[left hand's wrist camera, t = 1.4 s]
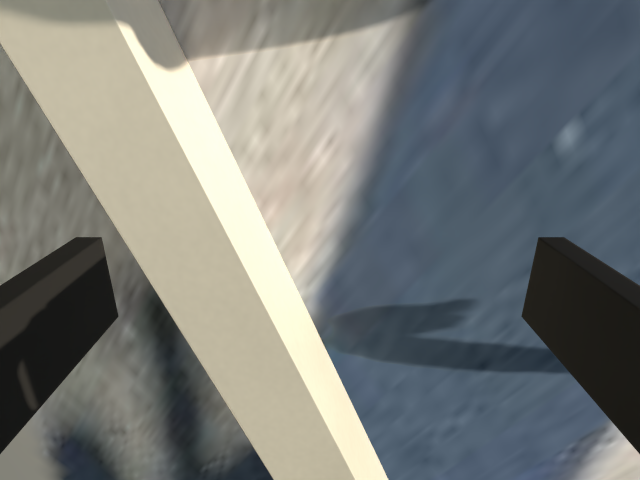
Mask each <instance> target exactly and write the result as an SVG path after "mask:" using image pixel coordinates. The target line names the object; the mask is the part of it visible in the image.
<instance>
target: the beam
mask: <svg viewBox="0 0 640 480" xmlns="http://www.w3.org/2000/svg"><path fill="white" fill-rule="evenodd" d="M0 44H1V45H2V47H3V49H4V50H5V52H6V53H7V55H8V57H9V58H10V60H11V61H12V63H13V65H14V66H15V68H16V69H17V71H18V73H19V74H20V76H21V77H22V79H23V81H24V82H25V84H26V85H27V87H28V89H29V90H30V92H31V93H32V95H33V96H34V98H35V100H36V101H37V103H38V104H39V106H40V108H41V109H42V111H43V112H44V114H45V116H46V117H47V119H48V120H49V122H50V124H51V125H52V127H53V128H54V130H55V132H56V133H57V135H58V136H59V138H60V140H61V141H62V143H63V144H64V146H65V148H66V149H67V151H68V152H69V154H70V156H71V157H72V159H73V160H74V162H75V163H76V165H77V167H78V168H79V170H80V171H81V173H82V175H83V176H84V178H85V179H86V181H87V183H88V184H89V186H90V187H91V189H92V191H93V192H94V194H95V195H96V197H97V199H98V200H99V202H100V203H101V205H102V207H103V208H104V210H105V211H106V213H107V215H108V216H109V218H110V219H111V221H112V222H113V224H114V226H115V227H116V229H117V230H118V232H119V234H120V235H121V237H122V238H123V240H124V242H125V243H126V245H127V246H128V248H129V250H130V251H131V253H132V254H133V256H134V258H135V259H136V261H137V262H138V264H139V266H140V267H141V269H142V270H143V272H144V274H145V275H146V277H147V278H148V280H149V282H150V283H151V285H152V286H153V288H154V289H155V291H156V293H157V294H158V296H159V297H160V299H161V301H162V302H163V304H164V305H165V307H166V309H167V310H168V312H169V313H170V315H171V317H172V318H173V320H174V321H175V323H176V325H177V326H178V328H179V329H180V331H181V333H182V334H183V336H184V337H185V339H186V341H187V342H188V344H189V345H190V347H191V348H192V350H193V352H194V353H195V355H196V356H197V358H198V360H199V361H200V363H201V364H202V366H203V368H204V369H205V371H206V372H207V374H208V376H209V377H210V379H211V380H212V382H213V384H214V385H215V387H216V388H217V390H218V392H219V393H220V395H221V396H222V398H223V400H224V401H225V403H226V404H227V406H228V408H229V409H230V411H231V412H232V414H233V415H234V417H235V419H236V420H237V422H238V423H239V425H240V427H241V428H242V430H243V431H244V433H245V435H246V436H247V438H248V439H249V441H250V443H251V444H252V446H253V447H254V449H255V451H256V452H257V454H258V455H259V457H260V459H261V460H262V462H263V463H264V465H265V467H266V468H267V470H268V471H269V473H270V474H271V476H272V478H273V479H274V480H388V478H387V476H386V474H385V472H384V470H383V468H382V466H381V464H380V461H379V459H378V457H377V455H376V453H375V451H374V449H373V447H372V445H371V443H370V441H369V439H368V436H367V434H366V432H365V430H364V428H363V426H362V424H361V422H360V420H359V418H358V416H357V414H356V411H355V409H354V407H353V405H352V403H351V401H350V399H349V397H348V395H347V393H346V391H345V389H344V386H343V384H342V382H341V380H340V378H339V376H338V374H337V372H336V370H335V368H334V366H333V364H332V361H331V359H330V357H329V355H328V353H327V351H326V349H325V347H324V345H323V343H322V341H321V339H320V336H319V334H318V332H317V330H316V328H315V326H314V324H313V322H312V320H311V318H310V316H309V314H308V311H307V309H306V307H305V305H304V303H303V301H302V299H301V297H300V295H299V293H298V291H297V289H296V286H295V284H294V282H293V280H292V278H291V276H290V274H289V272H288V270H287V268H286V266H285V264H284V261H283V259H282V257H281V255H280V253H279V251H278V249H277V247H276V245H275V243H274V241H273V239H272V236H271V234H270V232H269V230H268V228H267V226H266V224H265V222H264V220H263V218H262V216H261V214H260V211H259V209H258V207H257V205H256V203H255V201H254V199H253V197H252V195H251V193H250V191H249V189H248V186H247V184H246V182H245V180H244V178H243V176H242V174H241V172H240V170H239V168H238V166H237V163H236V161H235V159H234V157H233V155H232V153H231V151H230V149H229V147H228V145H227V143H226V141H225V138H224V136H223V134H222V132H221V130H220V128H219V126H218V124H217V122H216V120H215V118H214V116H213V113H212V111H211V109H210V107H209V105H208V103H207V101H206V99H205V97H204V95H203V93H202V91H201V88H200V86H199V84H198V82H197V80H196V78H195V76H194V74H193V72H192V70H191V68H190V66H189V63H188V61H187V59H186V57H185V55H184V53H183V51H182V49H181V47H180V45H179V43H178V41H177V38H176V36H175V34H174V32H173V30H172V28H171V26H170V24H169V22H168V20H167V18H166V16H165V13H164V11H163V9H162V7H161V5H160V3H159V1H158V0H0Z"/></svg>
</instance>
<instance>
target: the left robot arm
mask: <svg viewBox="0 0 640 480" xmlns="http://www.w3.org/2000/svg"><path fill="white" fill-rule="evenodd" d="M117 317H118V312H117V308H116V303H115V298H114V294H113V289H112V284H111V280H110V275H109V270H108V266H107V261H106V256H105V252H104V247H103V242H102V238H101V237H76V238H74V239H73V240H71V241H70V242H68V243H66V244H65V245H63V246H62V247H60V248H59V249H57V250H55V251H54V252H52V253H51V254H49V255H48V256H46V257H44V258H43V259H41V260H40V261H38V262H37V263H35V264H34V265H32V266H30V267H29V268H27V269H26V270H24V271H23V272H21V273H19V274H18V275H16V276H15V277H13V278H12V279H10V280H8V281H7V282H5V283H4V284H2V285H1V286H0V454H1V452H2V451H3V450H4V449H5V448H6V447H7V445H8V444H9V443H10V442H11V441H12V440H13V439H14V437H15V436H16V435H17V434H18V433H19V432H20V430H21V429H22V428H23V427H24V426H25V425H26V423H27V422H28V421H29V420H30V419H31V418H32V416H33V415H34V414H35V413H36V412H37V411H38V409H39V408H40V407H41V406H42V405H43V404H44V402H45V401H46V400H47V399H48V398H49V397H50V395H51V394H52V393H53V392H54V391H55V390H56V388H57V387H58V386H59V385H60V384H61V383H62V381H63V380H64V379H65V378H66V377H67V376H68V374H69V373H70V372H71V371H72V370H73V369H74V367H75V366H76V365H77V364H78V363H79V362H80V361H81V359H82V358H83V357H84V356H85V355H86V354H87V352H88V351H89V350H90V349H91V348H92V347H93V345H94V344H95V343H96V342H97V341H98V340H99V338H100V337H101V336H102V335H103V334H104V333H105V331H106V330H107V329H108V328H109V327H110V326H111V324H112V323H113V322H114V321H115V320H116V319H117ZM522 317H523V319H524V320H525V321H526V322H527V323H528V324H529V326H530V327H531V328H532V329H533V330H534V331H535V333H536V334H537V335H538V336H539V337H540V338H541V340H542V341H543V342H544V343H545V344H546V345H547V347H548V348H549V349H550V350H551V351H552V352H553V354H554V355H555V356H556V357H557V358H558V359H559V361H560V362H561V363H562V364H563V365H564V366H565V368H566V369H567V370H568V371H569V372H570V373H571V374H572V376H573V377H574V378H575V379H576V380H577V381H578V383H579V384H580V385H581V386H582V387H583V388H584V390H585V391H586V392H587V393H588V394H589V395H590V397H591V398H592V399H593V400H594V401H595V402H596V404H597V405H598V406H599V407H600V408H601V409H602V411H603V412H604V413H605V414H606V415H607V416H608V418H609V419H610V420H611V421H612V422H613V423H614V425H615V426H616V427H617V428H618V429H619V430H620V432H621V433H622V434H623V435H624V436H625V437H626V439H627V440H628V441H629V442H630V443H631V444H632V446H633V447H634V448H635V449H636V450H637V451H638V452H639V454H640V286H639V285H638V284H636V283H635V282H633V281H632V280H630V279H628V278H627V277H625V276H624V275H622V274H621V273H619V272H617V271H616V270H614V269H613V268H611V267H610V266H608V265H606V264H605V263H603V262H602V261H600V260H599V259H597V258H596V257H594V256H592V255H591V254H589V253H588V252H586V251H585V250H583V249H581V248H580V247H578V246H577V245H575V244H574V243H572V242H570V241H569V240H567V239H566V238H564V237H539V238H538V242H537V247H536V252H535V256H534V261H533V266H532V270H531V275H530V280H529V284H528V289H527V294H526V298H525V303H524V308H523V312H522Z"/></svg>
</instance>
